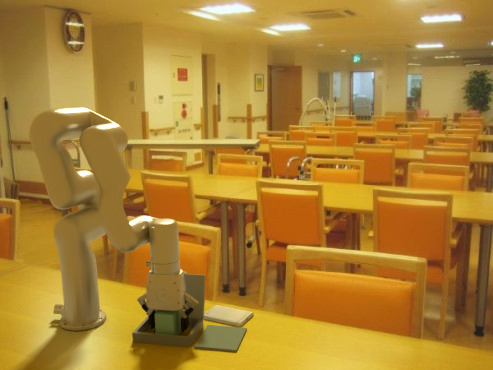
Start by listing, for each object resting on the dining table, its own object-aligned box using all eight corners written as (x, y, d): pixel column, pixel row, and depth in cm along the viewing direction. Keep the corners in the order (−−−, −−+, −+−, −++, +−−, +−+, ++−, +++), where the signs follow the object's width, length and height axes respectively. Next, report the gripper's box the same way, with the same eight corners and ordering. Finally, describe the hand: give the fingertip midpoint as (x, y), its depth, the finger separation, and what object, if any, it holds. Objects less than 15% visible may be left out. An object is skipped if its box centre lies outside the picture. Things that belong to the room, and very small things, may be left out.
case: (132, 341, 132) (132, 332, 132) (150, 322, 144) (149, 313, 143) (189, 347, 129) (189, 338, 129) (203, 326, 140) (203, 317, 140)
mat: (194, 347, 129) (194, 346, 129) (207, 326, 140) (207, 324, 140) (236, 351, 126) (236, 350, 126) (246, 329, 138) (246, 328, 138)
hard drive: (201, 315, 145) (240, 323, 140) (216, 304, 152) (253, 311, 147) (202, 320, 145) (240, 328, 140) (216, 309, 153) (253, 316, 147)
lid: (151, 270, 144) (153, 269, 145) (149, 314, 143) (151, 313, 144) (204, 273, 140) (206, 272, 142) (202, 318, 139) (204, 317, 141)
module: (156, 338, 134) (154, 313, 133) (164, 328, 140) (163, 304, 138) (174, 340, 133) (172, 315, 132) (181, 329, 139) (180, 305, 137)
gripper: (128, 269, 131) (132, 332, 134) (192, 273, 127) (195, 338, 131) (140, 260, 138) (144, 320, 142) (201, 263, 135) (204, 324, 138)
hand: (169, 328), depth 136 cm, fingers open, 8 cm apart
